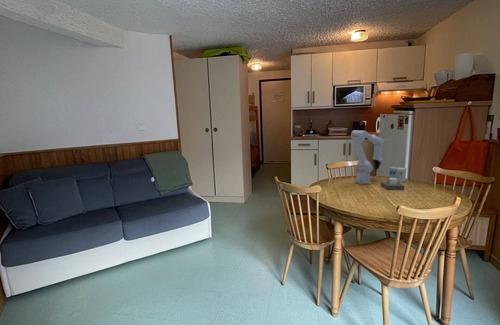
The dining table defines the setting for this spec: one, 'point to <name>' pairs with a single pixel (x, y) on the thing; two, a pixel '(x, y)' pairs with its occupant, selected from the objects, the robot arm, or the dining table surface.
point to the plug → (392, 181)
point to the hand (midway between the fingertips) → (376, 169)
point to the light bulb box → (398, 173)
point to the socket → (392, 186)
